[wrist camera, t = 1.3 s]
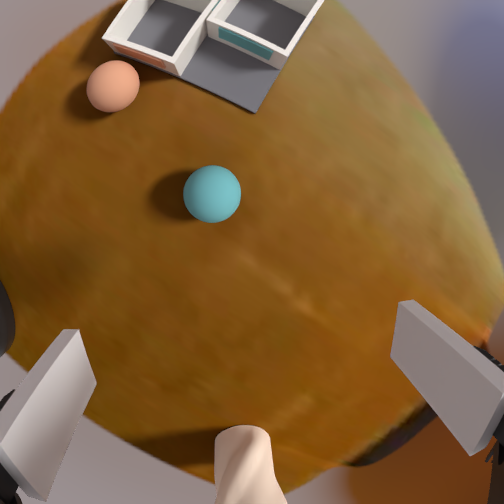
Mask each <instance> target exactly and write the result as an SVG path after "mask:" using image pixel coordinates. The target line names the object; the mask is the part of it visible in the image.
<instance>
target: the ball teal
mask: <svg viewBox="0 0 504 504" xmlns="http://www.w3.org/2000/svg"><path fill="white" fill-rule="evenodd" d="M183 198H184V203H185V205H186V208H187V209H188V211H189V212H190V213H191V214H192V215H193V216H194V217H195V218H197V219H199V220H201V221H204V222H208V223H215V222H220V221H223V220H225V219H227V218H228V217H230V216H231V215H232V214H233V213H234V212H235V210H236V209H237V207H238V205H239V202H240V198H241V189H240V185H239V182H238V180H237V179H236V177H235V176H234V175H233V174H232V173H231V172H230V171H229V170H227V169H225V168H223V167H220V166H215V165H210V166H205V167H202V168H199V169H198V170H196V171H195V172H193V173H192V174H191V175H190V177H189V178H188V179H187V181H186V183H185V186H184V191H183Z"/></svg>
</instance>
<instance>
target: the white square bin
mask: <svg viewBox="0 0 504 504" xmlns="http://www.w3.org/2000/svg"><path fill="white" fill-rule="evenodd" d="M239 1H240V0H219V1H218V3H217V4H216V5H215V7H214V8H213V9H212V13H211V14H210V15H209V17H208V18H207V19H206V22H207V31H208V37H210V38H212V39H215V40H217V41H220V42H222V43H224V44H226V45H229V46H231V47H233V48H235V49H238V50H240V51H242V52H244V53H246V54H248V55H251V56H253V57H255V58H257V59H259V60H261V61H263V62H265V63H267V64H269V65H271V66H273V67H275V68H276V69H278V70H280V69H281V67H282V65H283V64H284V62H285V60H286V59H287V57H288V56H289V54H290V52H291V51H292V49H293V48H294V46H295V44H296V43H297V41H298V40H299V38H300V36H301V35H302V33H303V32H304V30H305V29H306V27H307V26H308V24H309V22H310V21H311V19H312V18H313V16H314V15H315V13H316V12H317V10H318V9H319V7H320V6H321V4H322V3H323V1H324V0H274V1H276V2H278V3H280V4H282V5H284V6H286V7H288V8H290V9H292V10H294V11H296V12H298V13H300V14H302V15H304V16H306V18H305V20H304V21H303V23H302V24H301V26H300V27H299V29H298V31H297V32H296V34H295V35H294V37H293V38H292V40H291V41H290V43H289V45H288V46H287V48H286V49H285V50H284V49H282V48H280V47H278V46H276V45H274V44H272V43H270V42H268V41H266V40H264V39H262V38H260V37H258V36H256V35H254V34H252V33H249V32H247V31H245V30H243V29H240V28H238V27H236V26H233V25H231V24H229V23H226V22H224V21H225V20H226V19H227V17H228V16H229V14H230V13H231V12H232V10H233V9H234V8H235V6H236V5H237V4H238V2H239Z"/></svg>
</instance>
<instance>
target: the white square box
mask: <svg viewBox="0 0 504 504" xmlns="http://www.w3.org/2000/svg"><path fill="white" fill-rule="evenodd" d="M154 1H155V0H128V1H127V2H126V4H125V5H124V6H123V8H122V9H121V10H120V12H119V13H118V15H117V16H116V17H115V19H114V20H113V22H112V23H111V25H110V26H109V28H108V29H107V31H106V32H105V34H104V35H103V37H102V39H103V40H104V41H105V42H106V43H107V44H108V45H109V46H110V47H111V48H112V49H113V50H114V51H115V52H117V53H120V54H123V55H126V56H129V57H131V58H134V59H137V60H140V61H142V62H145V63H148V64H150V65H153V66H156V67H158V68H161V69H163V70H166V71H168V72H170V73H173V74H175V75H178V76H181V75H182V73H183V71H184V70H185V68H186V66H187V65H188V63H189V62H190V60H191V58H192V57H193V55H194V54H195V52H196V51H197V49H198V48H199V46H200V45H201V43H202V42H203V40H204V39H205V37H206V36H207V34H208V31H207V22H206V19H207V18H208V17H209V15H210V14H211V13H212V9H213V8H214V7H215V5H216V4H217V3H218V1H219V0H164V1H168V2H171V3H174V4H177V5H180V6H183V7H186V8H189V9H192V10H195V11H198V12H200V13H202V14H201V15H200V17H199V18H198V19H197V21H196V22H195V24H194V25H193V26H192V28H191V29H190V31H189V32H188V34H187V35H186V37H185V38H184V40H183V41H182V43H181V44H180V46H179V47H178V49H177V50H176V52H175V53H174V55H173V56H172V57H171V56H168V55H166V54H163V53H160V52H158V51H155V50H152V49H150V48H147V47H144V46H141V45H138V44H135V43H132V42H129V41H127V39H128V38H129V36H130V35H131V33H132V32H133V30H134V29H135V27H136V26H137V24H138V23H139V22H140V20H141V19H142V17H143V16H144V15H145V13H146V12H147V10H148V9H149V8H150V6H151V5H152V4H153V2H154Z"/></svg>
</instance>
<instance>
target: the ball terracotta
mask: <svg viewBox="0 0 504 504" xmlns="http://www.w3.org/2000/svg"><path fill="white" fill-rule="evenodd" d="M139 84H140V83H139V76H138V74H137V72H136V70H135V69H134V68H133V67H132V66H131V65H130V64H128V63H126V62H123V61H109V62H106V63H104V64H102V65H100V66H99V67H97V68H96V69H95V70H94V71H93V73H92V74H91V76H90V78H89V80H88V83H87V96H88V99H89V101H90V102H91V104H92V105H93V106H94V107H96V108H97V109H99V110H101V111H104V112H116V111H119V110H122V109H124V108H125V107H127V106H128V105H130V104H131V103H132V101H133V100H134V99H135V97H136V95H137V93H138V90H139Z"/></svg>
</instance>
